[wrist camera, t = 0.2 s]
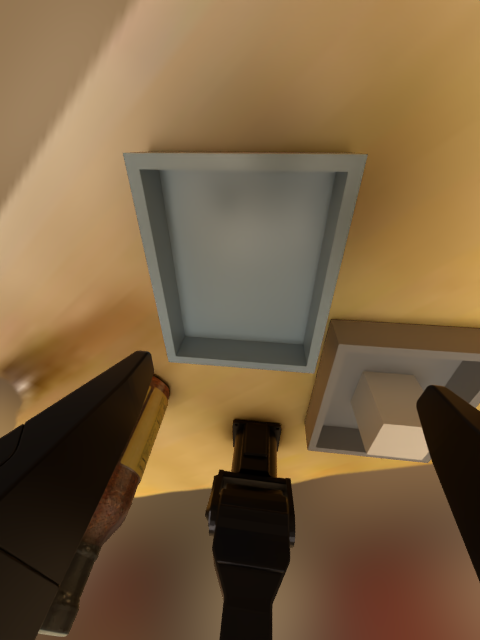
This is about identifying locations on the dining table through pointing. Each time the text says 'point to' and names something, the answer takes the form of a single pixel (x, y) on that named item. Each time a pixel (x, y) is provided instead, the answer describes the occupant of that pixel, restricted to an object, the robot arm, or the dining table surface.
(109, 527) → the sauce bottle
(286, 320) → the bin
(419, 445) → the stone block
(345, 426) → the bin
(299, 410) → the dining table surface
